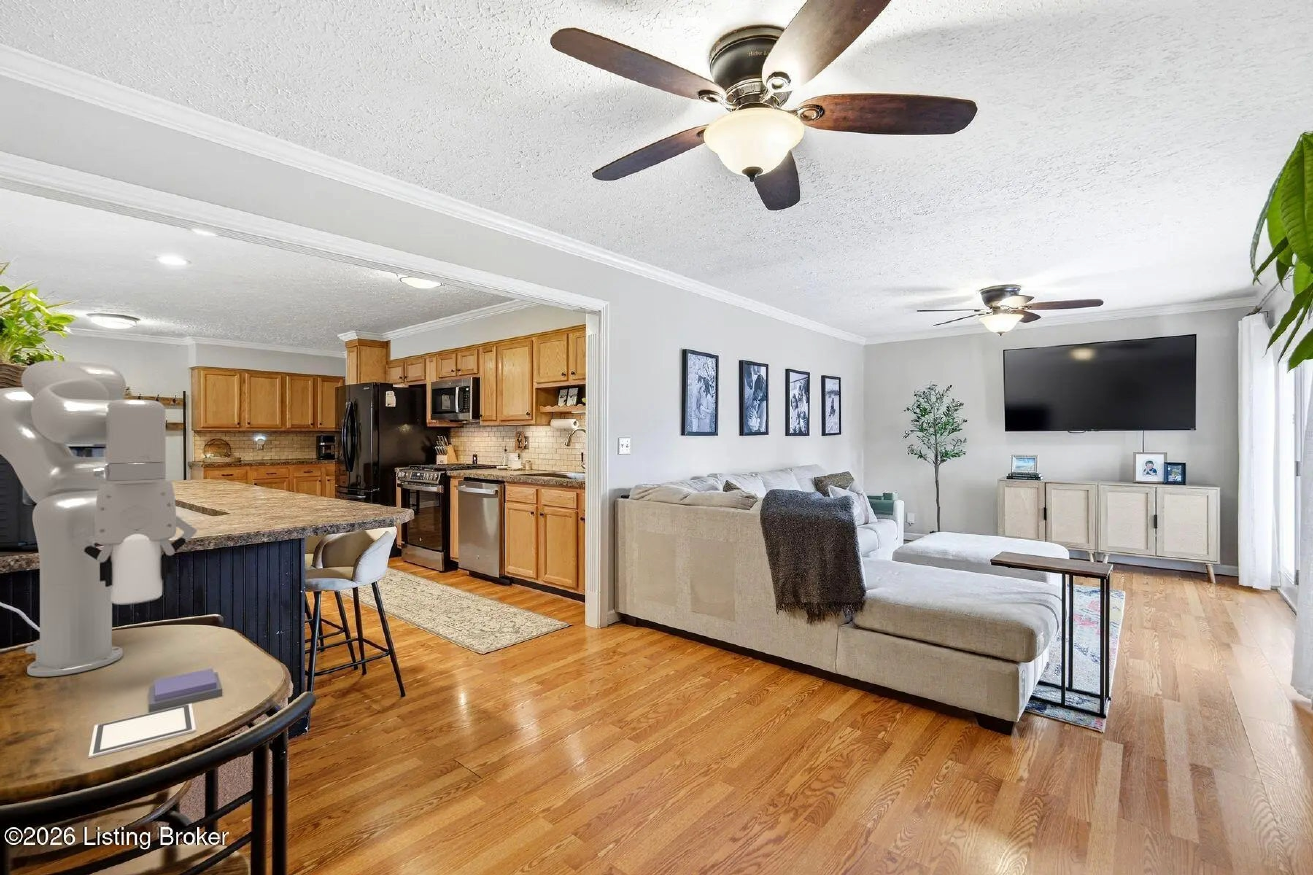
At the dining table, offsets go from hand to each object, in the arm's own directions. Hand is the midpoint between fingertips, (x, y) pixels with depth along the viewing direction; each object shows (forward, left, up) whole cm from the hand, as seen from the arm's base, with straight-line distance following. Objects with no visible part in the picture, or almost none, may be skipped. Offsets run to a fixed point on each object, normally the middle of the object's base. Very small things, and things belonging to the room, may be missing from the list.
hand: (137, 580), depth 99 cm
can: (0, 0, -3) cm, 3 cm away
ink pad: (+10, -2, -18) cm, 21 cm away
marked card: (+15, -13, -18) cm, 26 cm away
